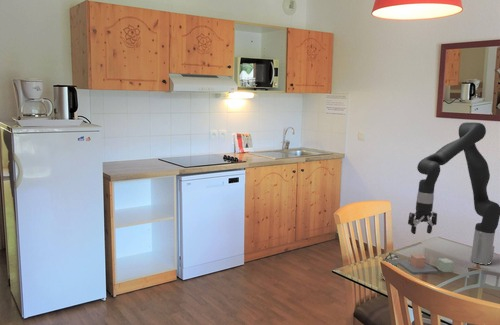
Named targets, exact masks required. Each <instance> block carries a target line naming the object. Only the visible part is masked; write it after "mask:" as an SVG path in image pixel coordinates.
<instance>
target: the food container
mask: <svg viewBox="0 0 500 325" xmlns="http://www.w3.org/2000/svg"><path fill="white" fill-rule="evenodd" d="M382 261H386V262H389V263H391V264H392V265H394V266H396V267H397V268H398V265H399V264H398V263H399V262H400V261H401V260H400V258H399V255H398V254H397V253H395V252H391V251H389V252H388V255H386V256H385V258H382ZM381 276H382V274H381ZM382 277H383V276H382Z"/></svg>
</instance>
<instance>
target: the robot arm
mask: <svg viewBox="0 0 500 325" xmlns="http://www.w3.org/2000/svg"><path fill="white" fill-rule="evenodd" d="M486 134H487V129H486V126H485V125H484V124H483V123H481V122H471V121H470V122H463V123H461V124H460V125H459V127H458V137H459V138H458V139H455V140H453V141H451V142H449V143H447V144H445V145H443V146H442V147H441V148H439V149H438V150H436V152H435V153H432V154H429V155H428V156H426V157H424V158H422V159H421V160H420V161H419V162H418V164H417V167H416V168H417V171H418V172H419V174H422V175H425V176H426V177H425V179H424V178H422V179H420V180H419V182H418V190H417V191H418V192H417V194H416V195H417V196H416V203H415V213H414V212H409V214H408V215H409V216H408V222H407V224H408V225H409V226H411V229H410V232H411V234H412V235H416V233H417V225H418V224H420V223H423V222H424V223H426V224H427V226H426V227H427V229H426V233H427V234H432V232H433V226H436V225H437V221H438V213H437V212H435V211H433V209H434V208H433V207H434V199H435V198H434V197H435V195H434V193H435V186H436V182H437V180H438V178H439V176H440V173H441V166H444V165H446V164H448V163H449V161H451V160H452V159H453V158H454V157H456V156H457V155H459V154H460V153H461V152H464V156H465V160H466V164H467V171H468V174H469V179H470V184H471V190H472V195H473V206H474V207H473V208H474V211H475V213H476V214H477V215H478V216H480V217H482V219H481V221H480V222H478V223H476V224H475V228H474V233H473V242H472V248H471V256H470V261H471V260H472V261H474V262H478V263H482V264H488V263H490V262H492V263H493V258H494V253H495V245H494V241H495V237H496V236H495V234H496V230H497V228H498V226H499V222H500V205H499V203H497V202H495V201H492V200H490V199H489V195H488V190H487V188H488V184H489V181H490V178H491V177H490V176H491V174H490V169H489V164H488V162H487V160H486V159H485V157H484V156H483V155H482V153H481V152H480V151H479V148H477V146H476V143H478V142H480V141H481V140H483V139H484V138H485V136H486ZM472 261H471V262H472ZM474 262H473V263H474Z"/></svg>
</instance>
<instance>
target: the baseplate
mask: <svg viewBox="0 0 500 325" xmlns="http://www.w3.org/2000/svg"><path fill="white" fill-rule="evenodd" d="M399 261H400V262H399V263H398V265H399V266H401V267H402V268H403V269H404V270H406V271H407V272H409V273H410V274H412V275H420V274H421V275H422V274H438V273H439V269H436V268H435V267H433V266H432V265H430V264H428V263H426V262H425V268H415V267H413V266H412V265H410V259H409V260H407V259H406V260H399Z"/></svg>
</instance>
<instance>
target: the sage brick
mask: <svg viewBox="0 0 500 325" xmlns="http://www.w3.org/2000/svg"><path fill="white" fill-rule="evenodd" d="M436 266H437V267H436V268H437V270H438V271H439V270H440V271H441V272H442V273H452V272H453V268H454V261H452V260H450V259H449V258H447V257H446V258H437V265H436Z"/></svg>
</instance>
